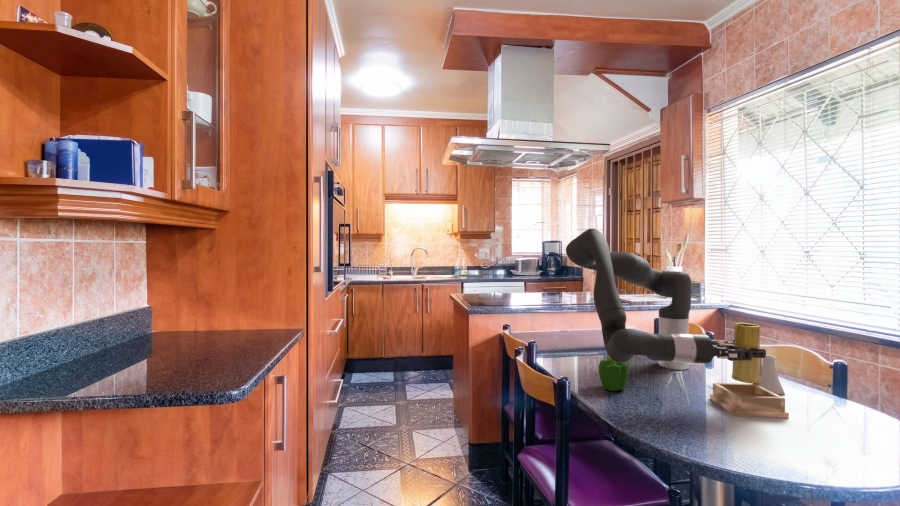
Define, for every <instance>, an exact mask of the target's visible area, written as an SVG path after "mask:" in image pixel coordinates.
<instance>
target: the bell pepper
mask: <svg viewBox="0 0 900 506" xmlns="http://www.w3.org/2000/svg"><path fill="white" fill-rule="evenodd" d="M606 359H607V360H605V359H601V360H600V362H599V364H598V374H599V378H600V379H599V380H600V383H601V385H602V387H603V388H604V390H606V391H610V392H618V391H624V390H625V389H626V386H627V383H628V380H629V376H630V375H629V373H630V372H629V371H630V369H629V367H628V365H627V363H626V362H624V363H619V362H616V361H614V360H612V359H611V358H610V356H609V355H607V356H606Z"/></svg>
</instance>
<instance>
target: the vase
mask: <svg viewBox="0 0 900 506" xmlns="http://www.w3.org/2000/svg"><path fill="white" fill-rule="evenodd" d="M760 328H761V327H760V325H759V324H755V323H746V322H736V323H734V328H733V329H734V333H733V335H734V339H733V340H734V341H733V342H734V345H738V346H739V347H744V348H746V347H747V348H760V347H761V346H760V343H761V342H760V341H761V340H760V337H761V335H760V333H761V331H760V330H761V329H760ZM734 349H735V348H734ZM732 363H733V364H732V373H731V379H733V380H735V381H737V382H741V383H744V384H756V383H760V382H761V380H760V358H752V360H750V361H749V360H736V361H733V362H732Z"/></svg>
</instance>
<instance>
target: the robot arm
mask: <svg viewBox="0 0 900 506" xmlns="http://www.w3.org/2000/svg"><path fill="white" fill-rule="evenodd" d="M565 254H566V256H567V258H569V260H570V261H571V262H572V263H573V264H574V265H577V266H579V267H581V268H584V269H588V270H593V271H595V281H594V287H593V296H592V297H593V303H594V307H595V310H596V313H597V315H598V316H597V317H598V319H599V322H600V325H601V334H602V339H603V345H604V348H605V351H606V353H607V356H610V358H611V359H612V360H614V361H615V362H619V363H624V362H625V363H626V362H628V361H630V360H631V359H632V358H633V357H634V356H644V357H646V358H647V359H649V360H651V361H656V362H658V366H659V367H661V366H662V368H664V367H665V369H670V370H676V371H677V370H678V371H683V370H689V368H690V366H689V364H704V365H705V364H709V363H711V362H712V361H713V359H714V357H716V358H718V359H721V360H723V359H727V360H728V361H729V362H730V361H736V360H749V361H750V360H752V358H762V359H763V358H765V357H766V356H767V350H766V349H765V348H747V347H746V348H744V347H739V346H738V345H734V341H728V340H726V339H723V340H722V339H711V337H710V336H709V335H707V334H705V333H690V330H689V329H690V327H689V326H690V324H689V323H690V321H689V320H690V319H689V317H690V311H691V307H692V306H691V305H692V288H693V287H692V286H693V285H692V279H691V277H690V275H689V274H688V273H687V272H685V271H671V270H659V269H656V268H653V267H651V264H650V263H649V261H648V260H647V259H645V258H643V257H642V256H639V255H637V254H635V253H632V252H629V251H612V252H611V251H610V246H609V243H608V241H607V239H606V237H605V236H604V234H603V233H602V232H601V231H600V230H598V229H596V228H589V229H588V228H587V229H586V230H584V231H583V232H581V233H580V234H579V235H578V236H576V237H575V238H573V239H572V240H571V241H570V242H569V243H568V244H567V245H566V247H565ZM616 278H618V279H620V280H622V281H625V282H627V283H630V284H633V285H636V286H639V287H643V288H645V289H647V290H649V291H651V292H652V293H654V294H656V295H658V296H661V297H664V298H671V302H670V304H668V305H665V306H664V307H660V308H659V309H658V333H651V332H648V331H643V330H640V329H639V330H638V329H633V328H627V327H626V324H627V323H626V322H627V314H626V311H625V308H624V305H623V303H622V299H621V297H620V294H619V290H618V288H617V284H616ZM734 348H735V349H734Z"/></svg>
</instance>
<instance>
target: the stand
mask: <svg viewBox="0 0 900 506" xmlns="http://www.w3.org/2000/svg"><path fill="white" fill-rule="evenodd" d="M762 364H763V358H760V380H761V382H760V383H756V384H753V383H736V382H735V383H734V382H733V383H729V382H728V383H727V382H725V383H724V382H712V393H710V394H709V399H710V400H712V401H713V402H714V403H716V404H718V405H719V406H720V405H721V406H720V407H721V408H723V407H724V408H723V409H724V410H726V411H727V412H729V413H731V414H733V415H734V416H735V417H748V416H762V417H761V418H776V417H783V419H788V418H789V419H790V417H789V416H790V413H789V412H788V411H786V398H785V397H783V396H781V395H780V394H779V395H777V394H775V393H773V392H771V391H769V390H767V389H765V388H763V387H762Z"/></svg>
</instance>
